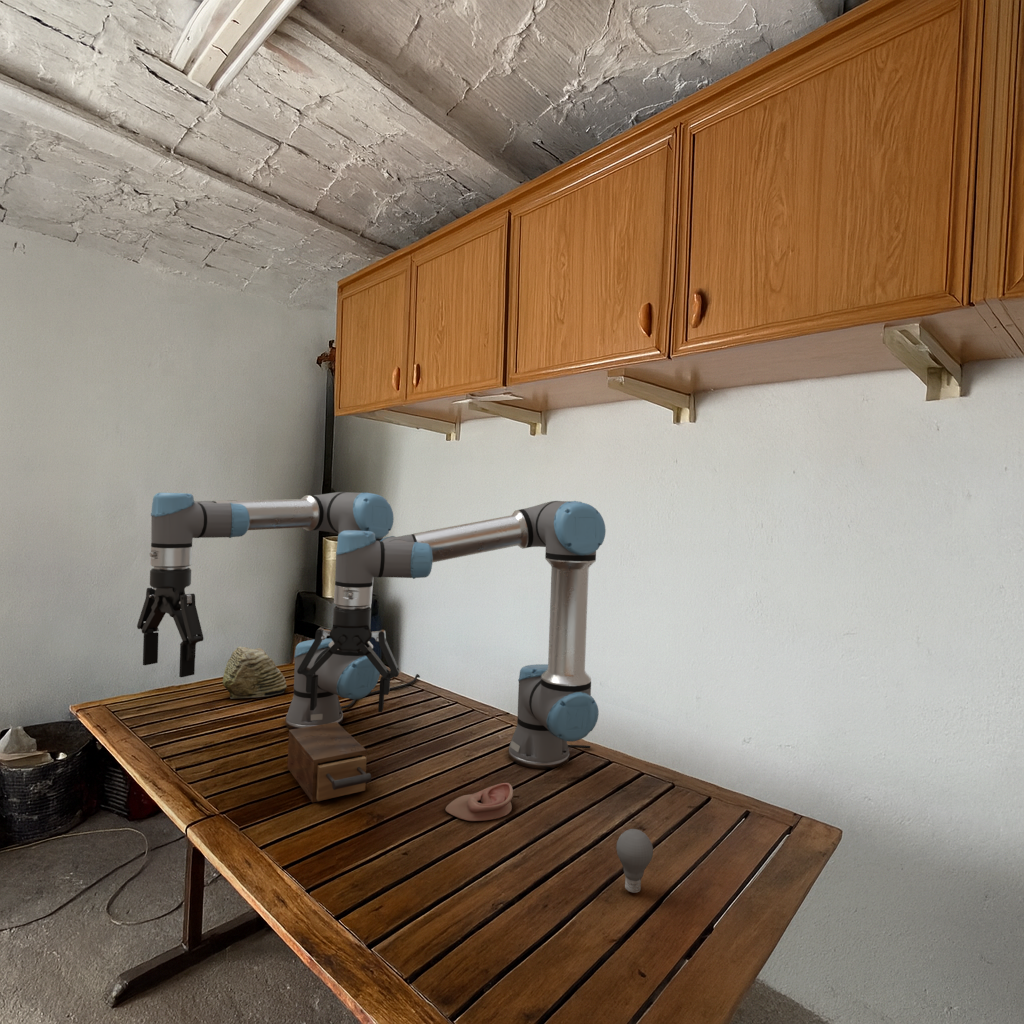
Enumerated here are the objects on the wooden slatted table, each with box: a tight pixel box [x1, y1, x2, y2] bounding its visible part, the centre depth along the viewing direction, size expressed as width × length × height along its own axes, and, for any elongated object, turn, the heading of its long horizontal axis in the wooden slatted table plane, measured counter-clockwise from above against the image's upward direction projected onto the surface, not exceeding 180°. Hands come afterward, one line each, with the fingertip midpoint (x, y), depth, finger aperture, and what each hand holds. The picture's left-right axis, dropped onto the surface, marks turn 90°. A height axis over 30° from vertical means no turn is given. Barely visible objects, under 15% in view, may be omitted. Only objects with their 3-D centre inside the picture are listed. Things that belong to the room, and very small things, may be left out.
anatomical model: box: [444, 782, 514, 822], centre depth 131 cm, size 13×4×12 cm
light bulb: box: [615, 828, 654, 894], centre depth 106 cm, size 6×6×10 cm
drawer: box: [316, 756, 372, 802], centre depth 137 cm, size 24×10×7 cm, turn 34°
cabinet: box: [287, 722, 367, 803], centre depth 142 cm, size 19×11×9 cm, turn 34°
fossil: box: [222, 646, 288, 699], centre depth 198 cm, size 9×18×15 cm, turn 132°
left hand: (168, 669), depth 131 cm, fingers open, 13 cm apart
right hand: (347, 709), depth 130 cm, fingers open, 13 cm apart
